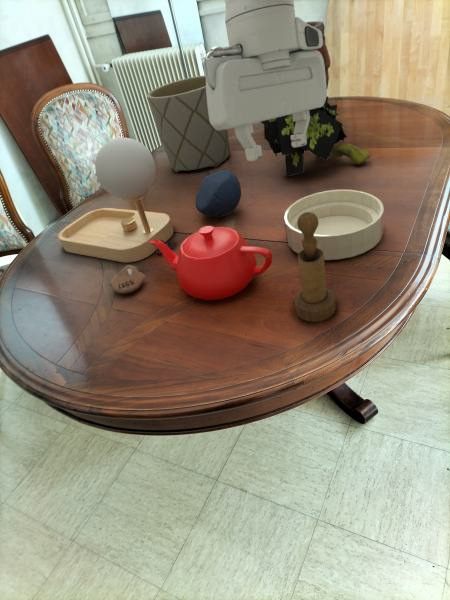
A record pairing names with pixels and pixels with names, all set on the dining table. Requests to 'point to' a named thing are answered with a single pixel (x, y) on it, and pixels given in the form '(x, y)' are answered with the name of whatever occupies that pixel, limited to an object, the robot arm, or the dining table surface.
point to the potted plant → (311, 139)
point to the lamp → (120, 222)
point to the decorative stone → (218, 194)
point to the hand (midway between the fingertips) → (278, 153)
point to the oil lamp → (127, 280)
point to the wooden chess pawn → (312, 275)
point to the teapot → (214, 262)
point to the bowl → (338, 222)
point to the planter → (187, 125)
